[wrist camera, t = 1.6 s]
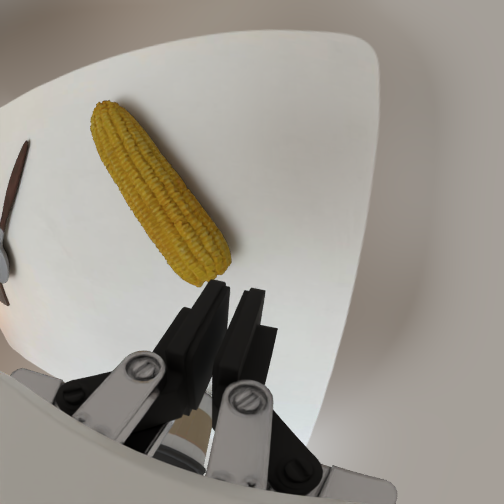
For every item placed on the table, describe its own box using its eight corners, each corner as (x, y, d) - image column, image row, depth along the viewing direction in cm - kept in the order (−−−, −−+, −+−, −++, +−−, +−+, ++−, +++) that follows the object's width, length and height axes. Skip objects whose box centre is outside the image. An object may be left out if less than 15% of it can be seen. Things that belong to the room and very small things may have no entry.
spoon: (-13, 250, 42) (-22, 257, 39) (19, 120, 29) (5, 123, 26) (14, 284, 44) (5, 292, 42) (54, 159, 31) (40, 165, 29)
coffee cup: (165, 367, 41) (122, 443, 28) (234, 394, 40) (205, 478, 27) (163, 401, 46) (130, 465, 33) (221, 424, 45) (197, 492, 32)
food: (246, 247, 29) (230, 277, 24) (206, 272, 31) (185, 303, 26) (126, 89, 24) (88, 88, 19) (96, 125, 26) (58, 131, 21)
